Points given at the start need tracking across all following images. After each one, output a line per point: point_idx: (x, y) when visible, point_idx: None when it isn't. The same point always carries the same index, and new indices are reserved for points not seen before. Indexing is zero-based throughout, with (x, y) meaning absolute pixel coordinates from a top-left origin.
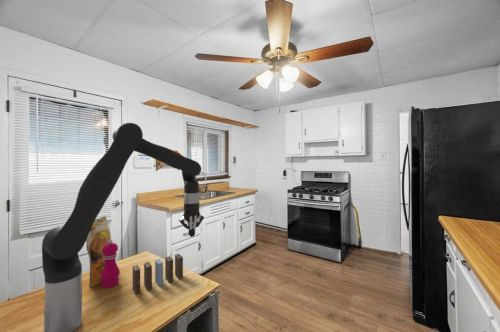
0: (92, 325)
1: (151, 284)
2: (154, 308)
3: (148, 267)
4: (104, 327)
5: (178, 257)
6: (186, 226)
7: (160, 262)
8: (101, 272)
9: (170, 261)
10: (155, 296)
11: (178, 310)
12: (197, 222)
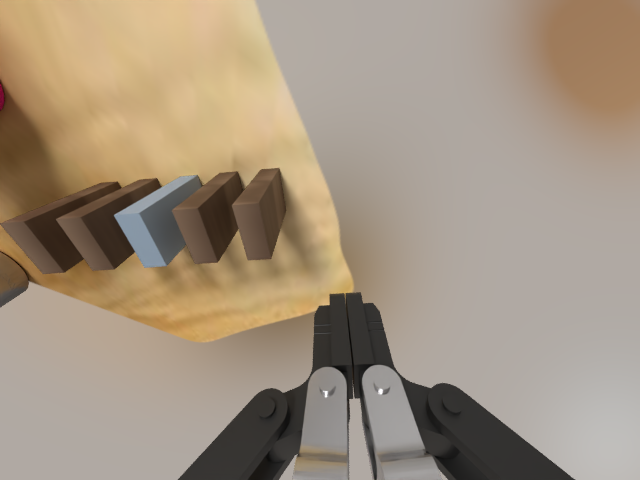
0: (61, 289)
1: None
2: (193, 302)
3: (101, 268)
4: (94, 305)
5: (247, 251)
6: (257, 475)
7: (152, 256)
8: None
9: (205, 260)
10: (191, 262)
11: (246, 329)
12: (500, 462)
